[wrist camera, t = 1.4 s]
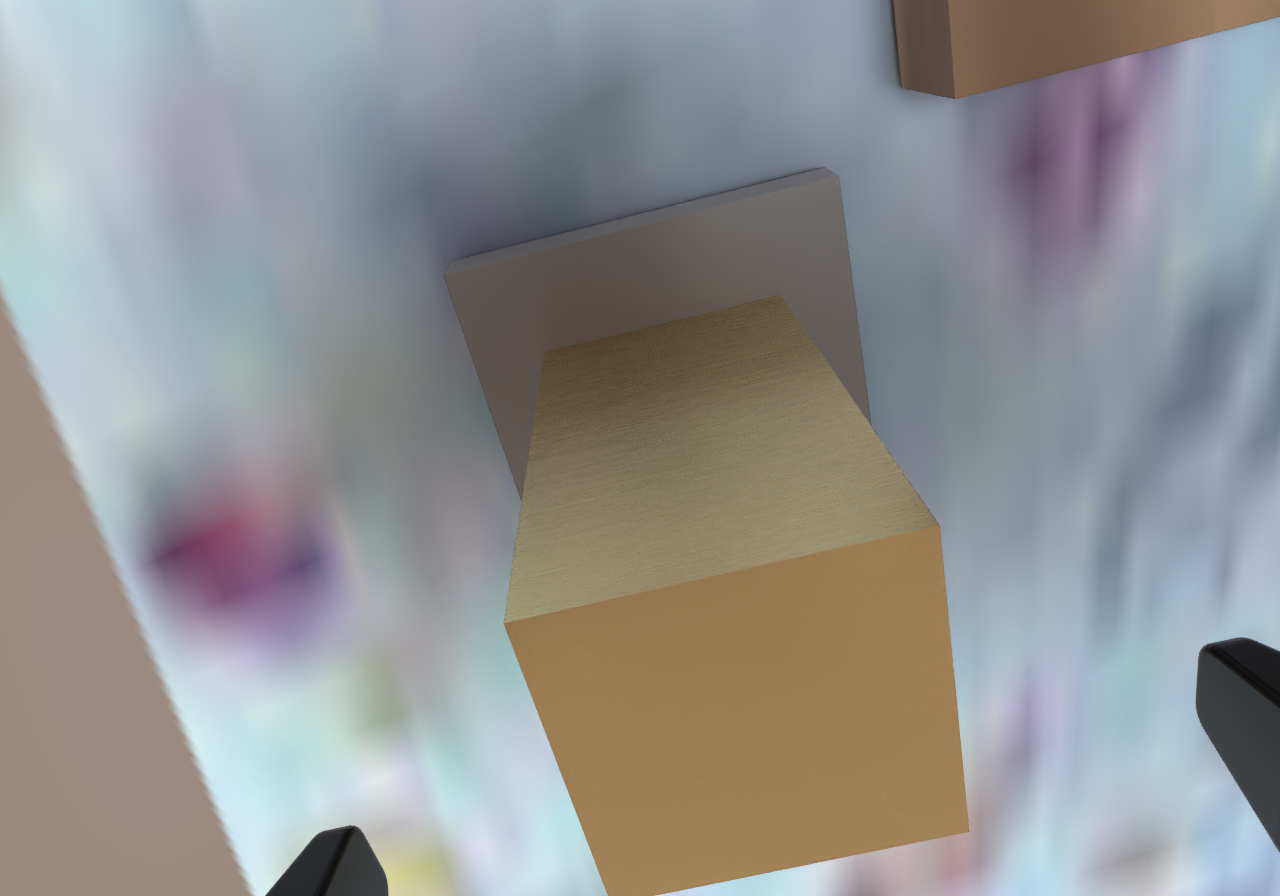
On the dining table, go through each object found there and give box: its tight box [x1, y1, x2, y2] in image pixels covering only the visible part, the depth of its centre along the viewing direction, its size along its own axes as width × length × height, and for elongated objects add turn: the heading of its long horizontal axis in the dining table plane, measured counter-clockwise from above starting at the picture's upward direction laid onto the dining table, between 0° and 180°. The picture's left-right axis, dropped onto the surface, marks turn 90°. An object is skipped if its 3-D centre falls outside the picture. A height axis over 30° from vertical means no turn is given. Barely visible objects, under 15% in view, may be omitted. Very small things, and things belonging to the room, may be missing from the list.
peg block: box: [504, 295, 969, 896], centre depth 13 cm, size 4×4×8 cm
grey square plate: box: [444, 167, 871, 501], centre depth 17 cm, size 7×8×1 cm
